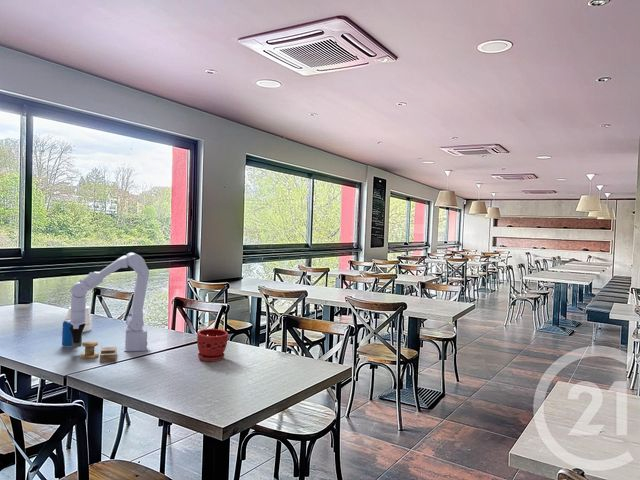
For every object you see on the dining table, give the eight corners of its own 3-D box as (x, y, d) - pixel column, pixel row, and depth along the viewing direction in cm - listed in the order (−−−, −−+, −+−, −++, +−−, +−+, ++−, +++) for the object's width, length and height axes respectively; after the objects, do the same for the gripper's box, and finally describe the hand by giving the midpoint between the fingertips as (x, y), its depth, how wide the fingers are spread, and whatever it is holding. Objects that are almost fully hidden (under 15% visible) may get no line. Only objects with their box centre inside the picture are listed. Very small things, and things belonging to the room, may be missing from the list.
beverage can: (71, 348, 212) (72, 322, 212) (58, 347, 213) (59, 320, 213) (81, 345, 218) (82, 319, 218) (68, 343, 220) (69, 318, 219)
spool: (99, 354, 206) (99, 340, 206) (97, 358, 200) (98, 344, 200) (81, 354, 204) (81, 340, 204) (79, 359, 197) (80, 345, 197)
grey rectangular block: (81, 344, 207) (82, 329, 206) (80, 346, 203) (81, 331, 203) (72, 345, 205) (73, 330, 205) (71, 347, 202) (72, 331, 202)
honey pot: (96, 329, 249) (97, 295, 248) (72, 333, 238) (73, 298, 237) (82, 325, 255) (83, 292, 255) (58, 329, 245) (59, 295, 244)
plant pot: (190, 360, 205) (191, 332, 205) (207, 353, 217) (209, 327, 217) (215, 365, 200) (216, 336, 200) (232, 357, 213) (233, 331, 212)
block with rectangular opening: (116, 353, 208) (116, 346, 208) (115, 361, 197) (115, 354, 197) (101, 354, 206) (101, 347, 206) (99, 362, 195) (100, 355, 195)
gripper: (69, 307, 209) (68, 338, 210) (65, 314, 196) (64, 346, 196) (87, 307, 212) (86, 337, 212) (84, 313, 198) (83, 345, 199)
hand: (77, 341), depth 204 cm, fingers closed on grey rectangular block, 3 cm apart
